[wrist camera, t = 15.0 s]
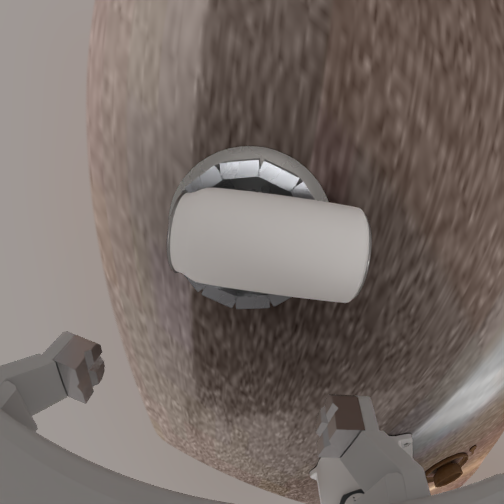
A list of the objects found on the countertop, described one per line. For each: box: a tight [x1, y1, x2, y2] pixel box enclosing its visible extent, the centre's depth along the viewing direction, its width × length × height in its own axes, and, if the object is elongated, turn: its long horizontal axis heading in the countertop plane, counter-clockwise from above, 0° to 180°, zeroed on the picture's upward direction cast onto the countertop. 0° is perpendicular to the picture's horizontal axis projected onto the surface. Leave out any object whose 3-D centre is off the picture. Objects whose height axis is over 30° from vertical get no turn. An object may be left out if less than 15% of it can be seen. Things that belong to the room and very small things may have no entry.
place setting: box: [425, 446, 477, 487], centre depth 39 cm, size 18×20×6 cm
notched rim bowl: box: [169, 146, 328, 309], centre depth 24 cm, size 14×14×3 cm
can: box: [167, 188, 372, 303], centre depth 20 cm, size 6×6×12 cm
